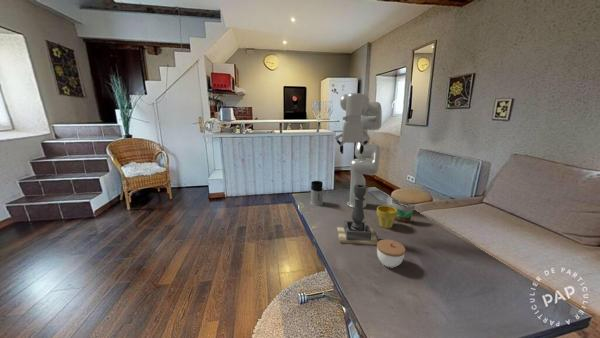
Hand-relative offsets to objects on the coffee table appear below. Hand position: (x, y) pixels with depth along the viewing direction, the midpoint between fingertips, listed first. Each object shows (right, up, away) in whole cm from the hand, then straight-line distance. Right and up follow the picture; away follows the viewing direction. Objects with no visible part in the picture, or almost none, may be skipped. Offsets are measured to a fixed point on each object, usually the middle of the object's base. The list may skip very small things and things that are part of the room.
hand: (351, 153), depth 117 cm
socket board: (+2, -42, -3) cm, 42 cm away
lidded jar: (+10, -47, -23) cm, 53 cm away
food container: (+32, -38, +14) cm, 52 cm away
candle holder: (+2, -41, -3) cm, 41 cm away
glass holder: (-13, -32, +37) cm, 51 cm away
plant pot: (+21, -39, +9) cm, 45 cm away
